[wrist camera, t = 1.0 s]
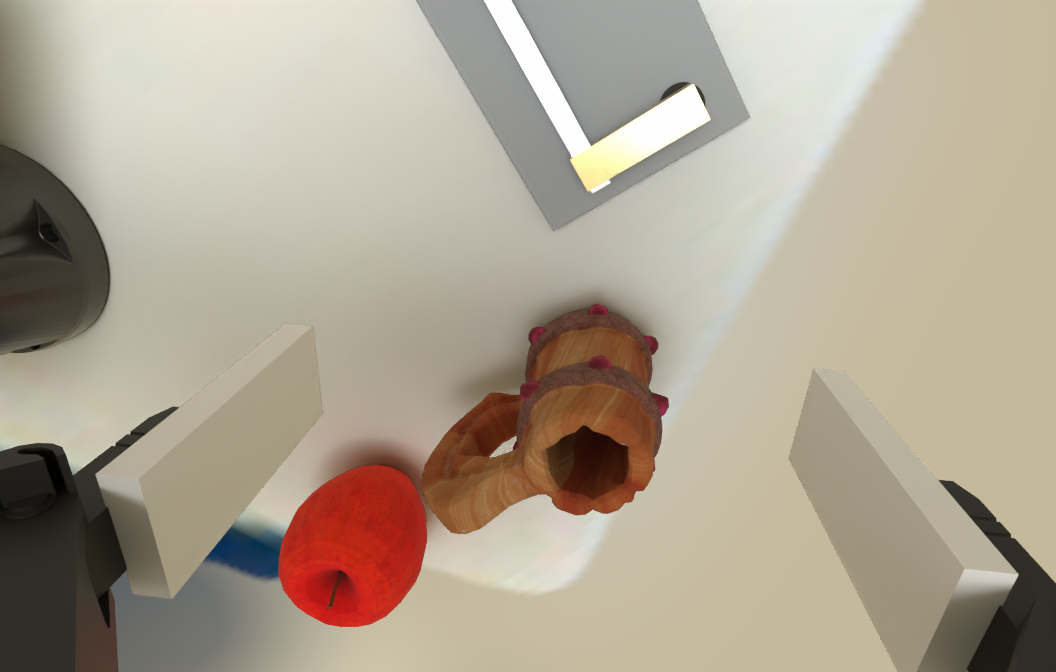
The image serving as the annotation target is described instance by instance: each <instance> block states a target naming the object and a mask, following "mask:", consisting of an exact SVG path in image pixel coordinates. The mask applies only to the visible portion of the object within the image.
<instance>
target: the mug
mask: <svg viewBox="0 0 1056 672" xmlns="http://www.w3.org/2000/svg"><path fill="white" fill-rule="evenodd" d="M529 341H530V343H531V346H530V348H529V352H528V357H527V364H526V374H525V376H526V383H524V384H522V385H521V387H520V395H509V394H503V393H490V394H489V395H488V396H487V397H486V398H485V399H484V400H483V401H482V402H481V403H479V404H478V405H477V406H476V407H474V408H473V409H472V410H471V411H470V412H468V413H467V414H466V415H465V416H464V417H463V418H462V419H460V420H459V421H458V422H457V423H456V424H455V425H454V426H453V427H452V428H451V429H450V430H449V431H448V432H447V433H446V434H445V435H444V437H443V438H442V440H441V441H440V443H439V444H438V445H437V447H436V448H435V450H434V451H433V452H432V454H431V456H430V457H429V459H428V461H427V463H426V464H425V467H424V472H423V474H422V490H423V495H424V496H425V497H426V502H427V504H429V505H430V506H431V508H432V512H433V513H434V514H436V516H437V517H438V519H439V520H440V521H441V522H442V523H443V525H444V526H445V527H446V528H447V529H448V530H449V531H450V532H451V533H458V534H467V533H470V532H472V531H475V530H478V529H480V528H482V527H483V526H485V525H486V524H487V523H489V522H490V521H491V520H492V519H494V518H495V517H496V516H498V515H499V514H500V513H501V512H503V511H504V510H505V509H507V508H508V507H509V506H511V505H513V504H515V503H517V502H519V501H521V500H524V499H527V498H529V497H532V496H535V495H537V494H539V495H541V494H546V495H548V496H550V497H551V498H552V502H553V504H554V505H555V506H556V507H557V508H558V509H560V510H562V511H565V512H568V513H571V514H574V515H585V514H587V513H588V512H590V511H591V510H592V509H593V510H595V511H598V512H600V513H604V514H608V513H611V512H614V511H617V510H619V509H620V508H621V507H622V506H623V505H624V503H627V502H632V500H633V499H634V494H635V492H636V491H643V490H644V489H645V488H646V486H647V485H648V483H649V481H650V480H651V478H652V475H653V472H654V471H655V461H654V458H655V456H656V455H657V453H658V450H659V447H660V444H661V438H662V421H661V417H662V416H663V415H664V414H665V413H666V411H667V409H668V407H669V403H668V398H667V397H665V396H661V395H658V394H655V393H652V392H651V391H650V389H649V388H648V387H649V384H650V381H651V377H652V358H651V355H653V354H655V352H656V351H657V349H658V342H657V340H656V338H654V337H652V336H643V335H642V334H641V333H640V332H639V330H638V329H637V328H636V327H635V326H633V325H632V324H631V323H630V322H629V321H628V320H626V319H624V318H622V317H621V316H619V315H617V314H613V313H610V312H608V310H607V308H606V307H605V306H602V305H599V304H595V305H593V306H592V307H590V309H586V310H580V311H574V312H571V313H568V314H565V315H563V316H561V317H559V318H557V319H555V320H553V321H551V322H550V323H549V324H548V325H547V326H545V327H544V328H543V327H536V328H533V329H532V330H531V331H530V333H529ZM516 435H517V441H516V442H515V444H514V446H513V451H511V452H508V453H505V454H503V455H500V456H497V457H493V458H490V457H489V456H490V455H491V454H492V453H493V452H494V451H495V450H496V449H497V448H498V447H499V446H500V445H501V444H502V443H503V442H505V441H508V440H509V439H511V438H513V437H514V436H516Z"/></svg>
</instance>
